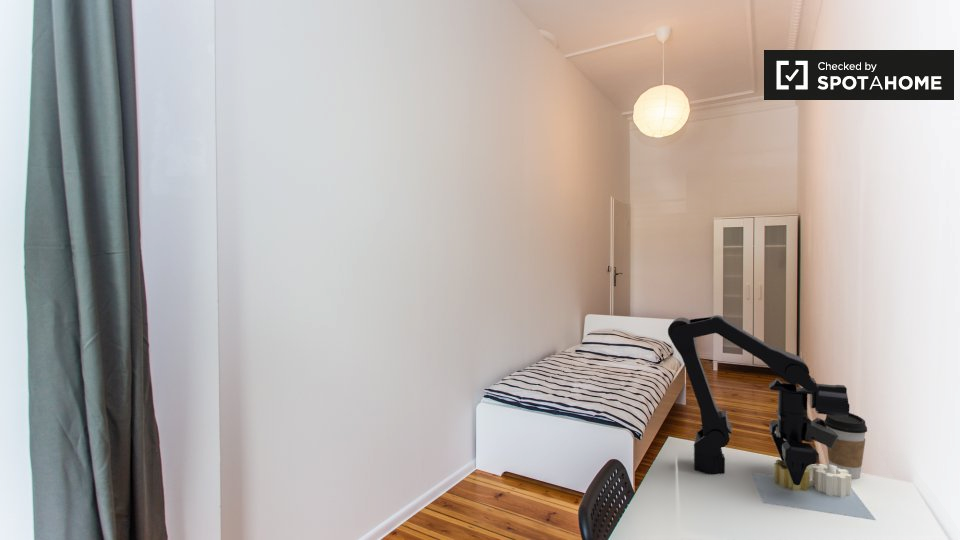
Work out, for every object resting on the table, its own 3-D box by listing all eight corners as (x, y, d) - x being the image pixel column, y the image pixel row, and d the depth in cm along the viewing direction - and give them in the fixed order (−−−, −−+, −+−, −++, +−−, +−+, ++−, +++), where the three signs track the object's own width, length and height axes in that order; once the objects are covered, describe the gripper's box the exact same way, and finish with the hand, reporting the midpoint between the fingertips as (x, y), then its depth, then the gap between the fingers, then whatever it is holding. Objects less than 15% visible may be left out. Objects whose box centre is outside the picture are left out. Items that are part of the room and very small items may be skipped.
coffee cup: (851, 469, 121) (852, 410, 121) (875, 485, 113) (876, 422, 112) (815, 468, 122) (816, 410, 121) (837, 484, 114) (838, 421, 113)
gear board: (763, 506, 104) (763, 477, 104) (751, 475, 118) (752, 450, 118) (876, 523, 97) (876, 493, 97) (849, 489, 111) (850, 462, 111)
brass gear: (813, 493, 108) (814, 474, 108) (777, 488, 110) (778, 469, 110) (805, 479, 114) (805, 461, 114) (771, 475, 117) (771, 457, 117)
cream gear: (827, 497, 106) (828, 478, 106) (805, 482, 113) (805, 464, 113) (858, 497, 106) (859, 477, 106) (834, 481, 113) (835, 463, 113)
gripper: (848, 428, 100) (847, 501, 101) (821, 401, 117) (820, 464, 118) (786, 422, 104) (785, 492, 105) (769, 397, 121) (768, 457, 122)
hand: (791, 475), depth 112 cm, fingers open, 9 cm apart
